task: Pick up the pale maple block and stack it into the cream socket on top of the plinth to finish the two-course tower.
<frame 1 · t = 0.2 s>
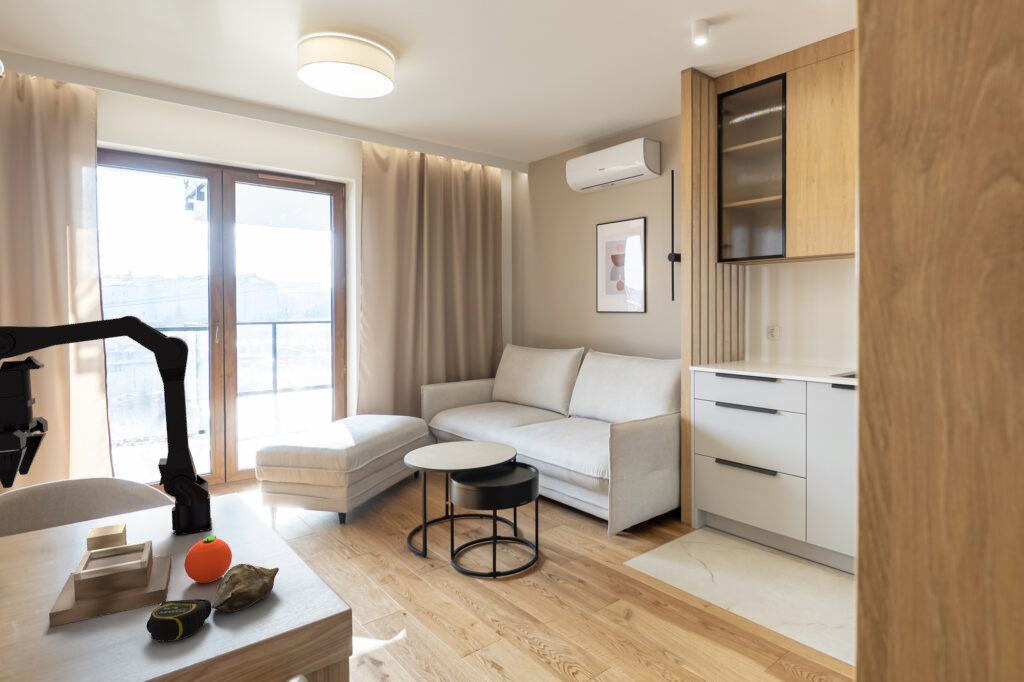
hand: (16, 480, 101), 14 cm above the table, fingers open, 9 cm apart
tower base: (117, 593, 88), on the table
fossilized seashell: (247, 603, 85), on the table
clementine: (210, 580, 93), on the table
tape measure: (178, 632, 78), on the table
maple block: (108, 563, 99), on the table
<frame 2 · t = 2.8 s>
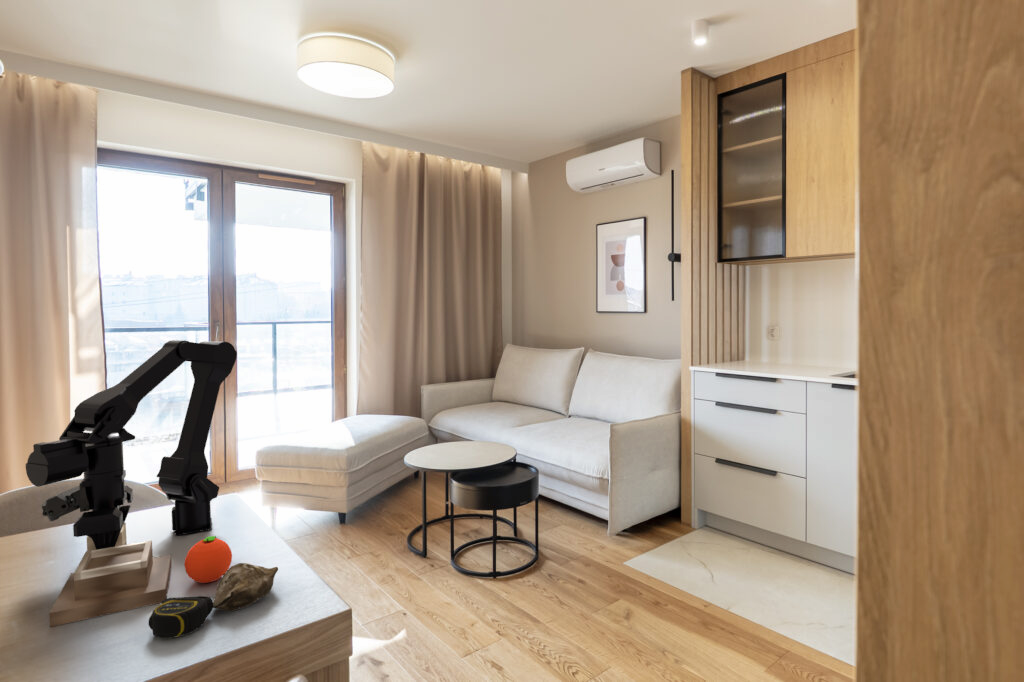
hand: (108, 556, 99), 1 cm above the table, fingers closed on maple block, 5 cm apart
maple block: (108, 563, 99), on the table, touching gripper
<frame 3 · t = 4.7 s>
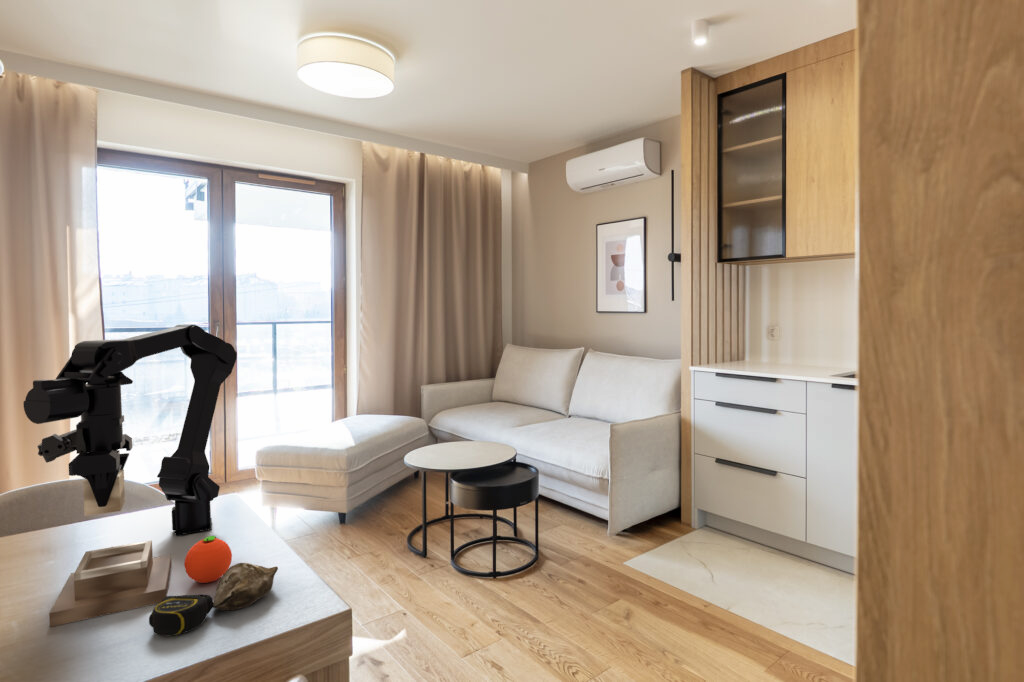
hand: (105, 501, 97), 12 cm above the table, fingers closed on maple block, 5 cm apart
fossilized seashell: (246, 601, 86), on the table, touching tape measure
tape measure: (180, 627, 79), on the table, touching fossilized seashell
maple block: (105, 508, 97), point 10 cm above the table, touching gripper
everything else where it was.
when the fingers open (8 cm above the table, at t = 6.9 s): maple block drops 2 cm, resting on tower base.
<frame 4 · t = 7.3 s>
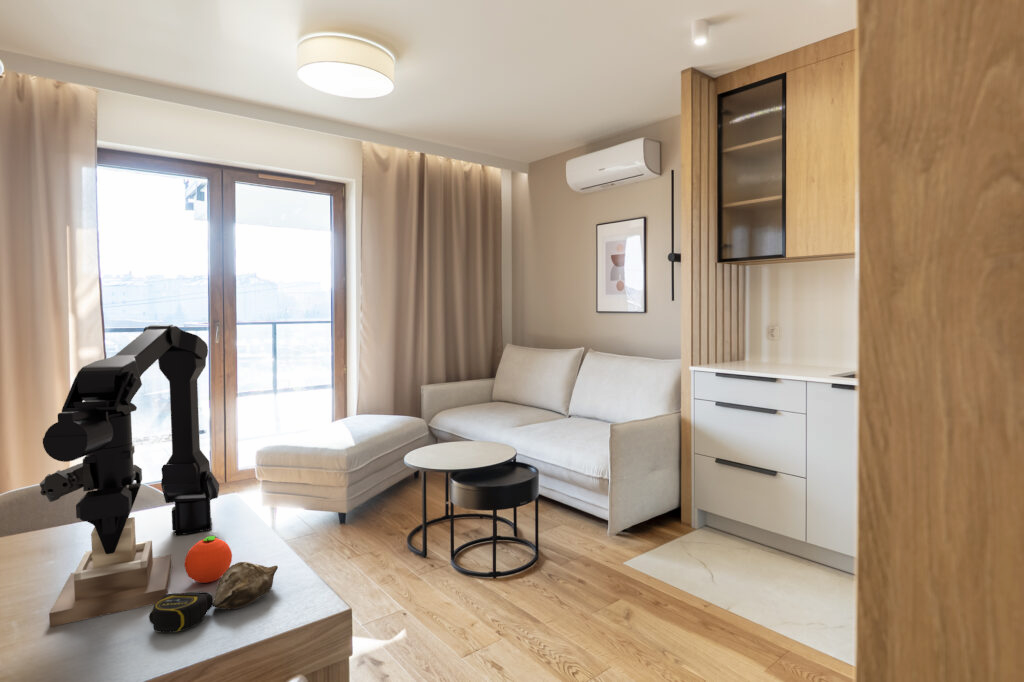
hand: (114, 542, 88), 8 cm above the table, fingers open, 9 cm apart
fossilized seashell: (246, 601, 86), on the table
tape measure: (180, 624, 80), on the table
maple block: (115, 562, 88), point 5 cm above the table, touching tower base
everything else where it was.
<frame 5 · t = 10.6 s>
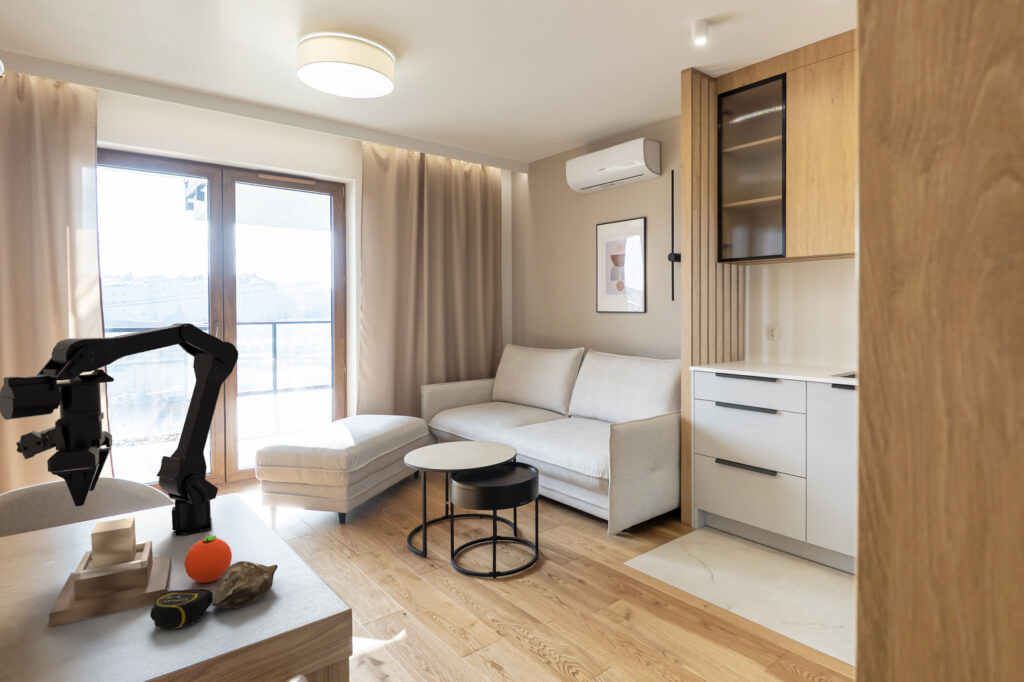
hand: (85, 498, 98), 12 cm above the table, fingers open, 9 cm apart
tape measure: (180, 620, 81), on the table
everything else where it was.
at the end: maple block 0.1 cm off-centre on the tower base, point 5.0 cm above the tower base's base; maple block tilted 0°; the gripper is holding nothing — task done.
